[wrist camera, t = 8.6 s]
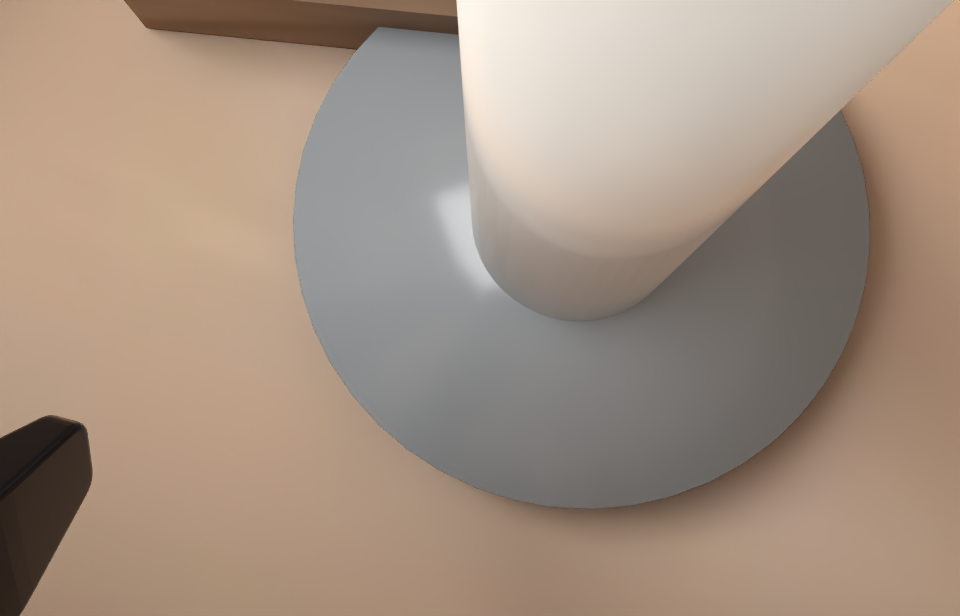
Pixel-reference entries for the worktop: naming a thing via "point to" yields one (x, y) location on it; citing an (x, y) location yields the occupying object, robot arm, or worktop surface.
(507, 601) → the worktop surface
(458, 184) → the plate
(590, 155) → the salt mill
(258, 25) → the holder
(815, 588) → the worktop surface
